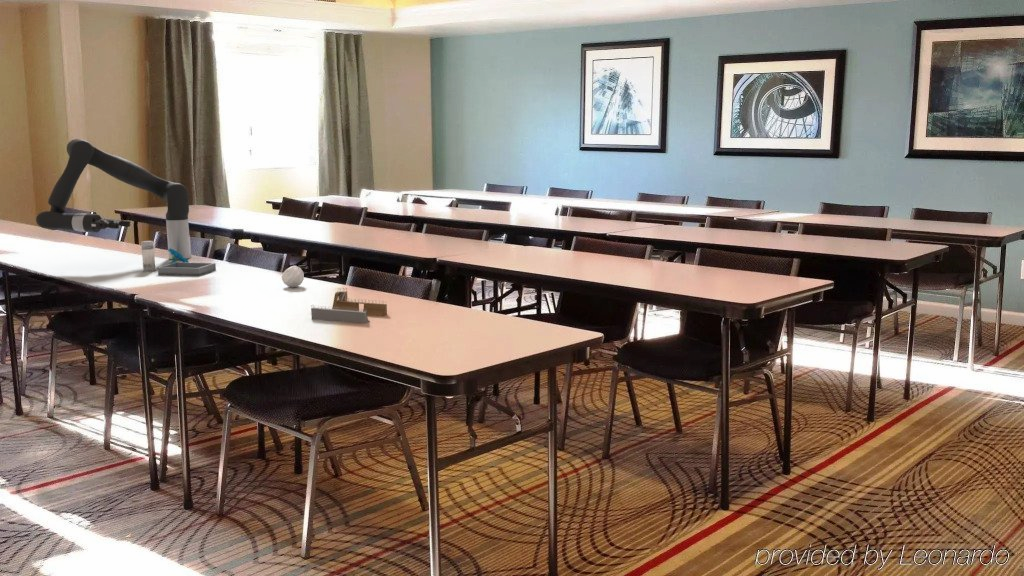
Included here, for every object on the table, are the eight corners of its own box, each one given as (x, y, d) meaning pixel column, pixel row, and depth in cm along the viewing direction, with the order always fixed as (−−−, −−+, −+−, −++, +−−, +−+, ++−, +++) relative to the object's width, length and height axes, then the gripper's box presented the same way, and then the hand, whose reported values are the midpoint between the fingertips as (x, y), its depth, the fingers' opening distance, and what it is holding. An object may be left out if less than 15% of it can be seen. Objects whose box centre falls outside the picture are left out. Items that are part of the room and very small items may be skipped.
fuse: (147, 269, 386) (145, 240, 384) (157, 269, 385) (155, 240, 383) (141, 271, 381) (138, 242, 379) (151, 271, 381) (149, 242, 378)
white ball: (278, 287, 344) (277, 266, 342) (293, 284, 350) (292, 263, 348) (293, 289, 339) (292, 268, 338) (309, 286, 345) (308, 265, 344)
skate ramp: (288, 323, 287) (287, 299, 285) (348, 302, 319) (347, 280, 318) (373, 330, 276) (372, 305, 275) (425, 308, 309) (425, 285, 307)
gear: (192, 261, 395) (173, 246, 391) (183, 272, 393) (164, 257, 389) (186, 262, 404) (167, 247, 400) (177, 272, 402) (158, 257, 398)
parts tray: (176, 269, 386) (175, 262, 386) (215, 270, 383) (215, 263, 382) (158, 274, 373) (157, 267, 372) (199, 275, 370) (198, 268, 369)
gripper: (76, 215, 376) (114, 217, 374) (96, 212, 390) (133, 214, 388) (77, 233, 377) (115, 235, 375) (96, 230, 391) (133, 232, 389)
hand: (124, 224), depth 381 cm, fingers open, 8 cm apart
